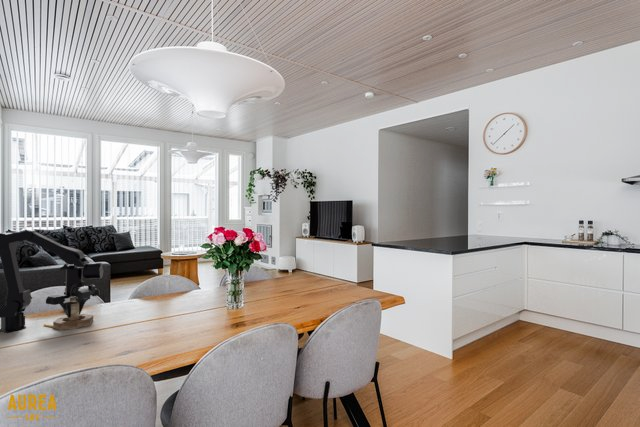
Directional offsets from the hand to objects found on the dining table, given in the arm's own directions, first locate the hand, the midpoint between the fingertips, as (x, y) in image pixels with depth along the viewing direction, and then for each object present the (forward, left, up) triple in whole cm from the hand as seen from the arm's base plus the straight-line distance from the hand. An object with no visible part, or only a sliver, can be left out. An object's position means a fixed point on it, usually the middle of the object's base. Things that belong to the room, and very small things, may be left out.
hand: (73, 316), depth 146 cm
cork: (+16, +28, -4) cm, 32 cm away
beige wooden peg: (0, 0, -2) cm, 2 cm away
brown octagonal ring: (0, 0, -4) cm, 4 cm away
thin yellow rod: (-6, +6, -4) cm, 9 cm away
